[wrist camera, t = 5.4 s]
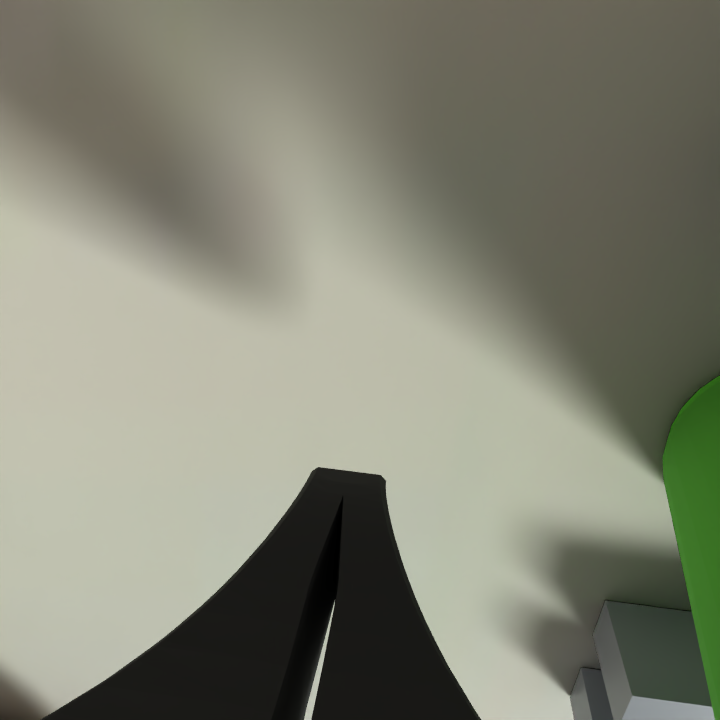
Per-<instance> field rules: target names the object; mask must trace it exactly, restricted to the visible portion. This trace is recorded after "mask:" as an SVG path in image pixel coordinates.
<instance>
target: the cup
mask: <svg viewBox="0 0 720 720" xmlns="http://www.w3.org/2000/svg"><path fill="white" fill-rule="evenodd" d="M662 459H663V479H664V484H665V488H666V493H667V498H668V502H669V507H670V512H671V516H672V521H673V526H674V530H675V535H676V540H677V544H678V549H679V554H680V558H681V563H682V568H683V572H684V577H685V582H686V587H687V591H688V596H689V601H690V605H691V610H692V615H693V619H694V624H695V629H696V633H697V638H698V643H699V647H700V652H701V657H702V661H703V666H704V671H705V675H706V680H707V685H708V689H709V694H710V699H711V704H712V708H713V713H714V718H715V720H720V375H719V376H718V377H716V378H715V379H713V380H712V381H710V382H709V383H707V384H706V385H705V386H703V387H702V388H700V389H699V390H698V391H697V392H696V393H695V394H694V395H693V396H692V397H691V398H690V400H689V401H688V402H687V403H686V404H685V405H684V406H683V407H682V409H681V410H680V412H679V414H678V415H677V417H676V419H675V420H674V422H673V424H672V425H671V428H670V432H669V436H668V439H667V443H666V446H665V450H664V454H663V457H662Z"/></svg>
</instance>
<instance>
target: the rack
mask: <svg viewBox="0 0 720 720" xmlns="http://www.w3.org/2000/svg"><path fill="white" fill-rule="evenodd" d="M593 639H594V643H595V647H596V651H597V655H598V659H599V663H600V667H601V670H596V669H588V668H581V669H580V671H579V674H578V677H577V680H576V682H575V685H574V688H573V690H572V693H571V696H570V701H571V706H572V711H573V716H574V720H715V718H714V713H713V708H712V704H711V699H710V694H709V689H708V685H707V680H706V675H705V671H704V666H703V661H702V657H701V652H700V647H699V643H698V638H697V633H696V629H695V624H694V619H693V615H692V612H689V611H681V610H674V609H666V608H658V607H651V606H643V605H636V604H628V603H620V602H613V601H605V603H604V605H603V608H602V611H601V614H600V616H599V619H598V622H597V625H596V627H595V630H594V633H593Z"/></svg>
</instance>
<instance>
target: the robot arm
mask: <svg viewBox="0 0 720 720" xmlns="http://www.w3.org/2000/svg"><path fill="white" fill-rule="evenodd" d="M334 601H335V606H334V612H333V617H332V622H331V627H330V632H329V637H328V642H327V647H326V652H325V657H324V662H323V667H322V672H321V677H320V682H319V686H318V691H317V696H316V701H315V705H314V710H313V715H312V720H481V719H480V717H479V716H478V714H477V713H476V711H475V710H474V708H473V706H472V705H471V703H470V701H469V700H468V698H467V696H466V695H465V693H464V691H463V690H462V688H461V686H460V685H459V683H458V681H457V680H456V678H455V676H454V675H453V673H452V671H451V670H450V668H449V666H448V665H447V663H446V661H445V659H444V657H443V655H442V653H441V651H440V649H439V647H438V645H437V644H436V642H435V640H434V638H433V636H432V633H431V631H430V629H429V627H428V625H427V623H426V621H425V619H424V616H423V614H422V612H421V610H420V607H419V605H418V603H417V600H416V598H415V595H414V593H413V590H412V588H411V585H410V582H409V580H408V577H407V574H406V571H405V569H404V566H403V563H402V560H401V556H400V553H399V550H398V547H397V543H396V540H395V537H394V533H393V529H392V525H391V520H390V516H389V511H388V505H387V498H386V480H385V479H384V478H383V477H382V476H381V475H376V474H368V473H360V472H352V471H344V470H336V469H328V468H320V467H318V468H316V469H315V470H313V471H312V472H311V474H310V476H309V478H308V480H307V482H306V483H305V485H304V487H303V488H302V490H301V491H300V493H299V494H298V496H297V497H296V499H295V500H294V502H293V503H292V505H291V506H290V507H289V509H288V510H287V512H286V513H285V514H284V516H283V517H282V518H281V520H280V521H279V522H278V523H277V525H276V526H275V527H274V529H273V530H272V531H271V532H270V534H269V535H268V536H267V538H266V539H265V540H264V541H263V542H262V544H261V545H260V546H259V547H258V548H257V549H256V550H255V551H254V553H253V554H252V555H251V556H250V557H249V558H248V559H247V561H246V562H245V563H244V564H243V565H242V566H241V567H240V568H239V569H238V571H237V572H236V573H235V574H234V575H233V576H232V577H231V578H230V579H229V580H228V581H227V582H226V583H225V584H224V585H223V586H222V587H221V588H220V589H219V590H218V591H217V592H216V593H215V594H214V595H213V596H211V597H210V598H209V599H208V600H207V601H206V602H205V603H204V604H203V605H202V606H201V607H200V608H198V609H197V610H196V611H195V612H194V613H193V614H191V615H190V616H189V617H188V618H187V619H186V620H185V621H183V622H182V623H181V624H180V625H179V626H178V627H176V628H175V629H174V630H173V631H172V632H170V633H169V634H168V635H167V636H165V637H164V638H163V639H162V640H160V641H159V642H158V643H156V644H155V645H154V646H152V647H151V648H150V649H148V650H147V651H145V652H144V653H143V654H141V655H140V656H138V657H137V658H136V659H134V660H133V661H132V662H130V663H129V664H127V665H126V666H125V667H123V668H122V669H120V670H119V671H118V672H116V673H115V674H113V675H112V676H111V677H109V678H108V679H106V680H105V681H103V682H102V683H100V684H98V685H97V686H95V687H94V688H92V689H90V690H89V691H87V692H85V693H84V694H82V695H81V696H79V697H77V698H76V699H74V700H72V701H71V702H69V703H68V704H66V705H64V706H63V707H61V708H59V709H58V710H56V711H55V712H53V713H51V714H50V715H48V716H46V717H44V718H43V719H41V720H304V716H305V712H306V707H307V703H308V700H309V696H310V692H311V688H312V684H313V681H314V677H315V673H316V669H317V666H318V662H319V658H320V654H321V650H322V647H323V643H324V639H325V635H326V631H327V628H328V624H329V620H330V616H331V612H332V608H333V605H334Z"/></svg>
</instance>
